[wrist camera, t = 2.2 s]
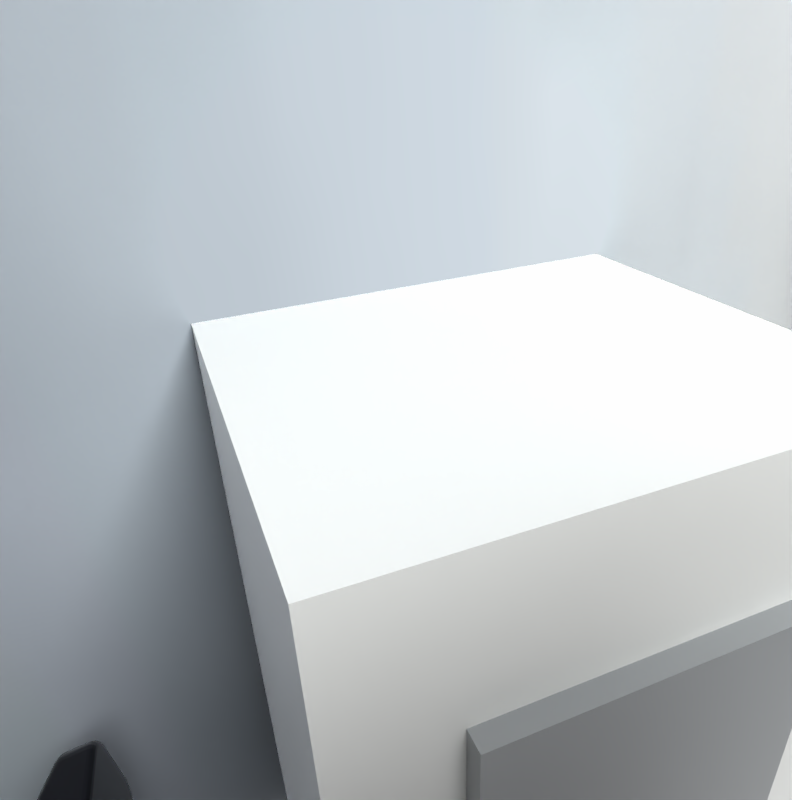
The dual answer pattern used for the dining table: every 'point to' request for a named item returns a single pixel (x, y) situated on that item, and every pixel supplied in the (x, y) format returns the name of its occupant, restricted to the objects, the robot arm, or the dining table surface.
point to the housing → (515, 536)
